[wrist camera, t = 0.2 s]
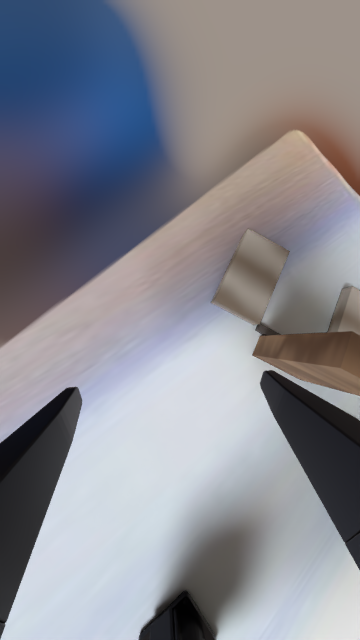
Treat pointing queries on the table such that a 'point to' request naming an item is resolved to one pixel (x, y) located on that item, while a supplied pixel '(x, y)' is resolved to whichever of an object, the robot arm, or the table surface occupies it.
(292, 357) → the walnut plank
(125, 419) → the table surface
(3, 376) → the table surface
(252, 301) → the floor row
